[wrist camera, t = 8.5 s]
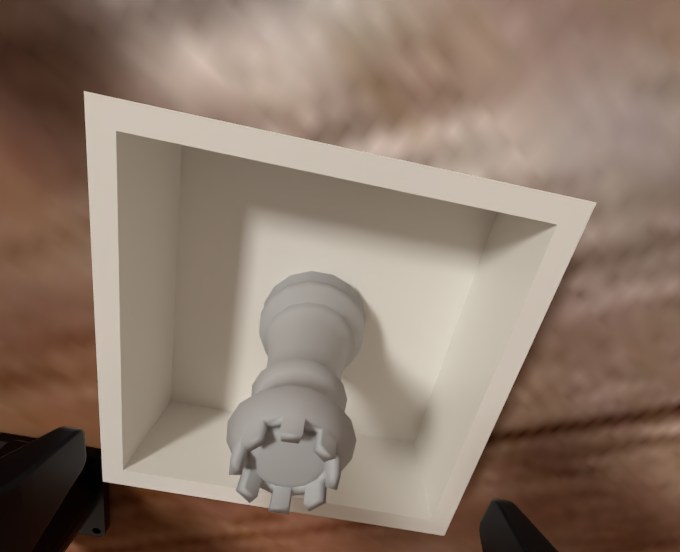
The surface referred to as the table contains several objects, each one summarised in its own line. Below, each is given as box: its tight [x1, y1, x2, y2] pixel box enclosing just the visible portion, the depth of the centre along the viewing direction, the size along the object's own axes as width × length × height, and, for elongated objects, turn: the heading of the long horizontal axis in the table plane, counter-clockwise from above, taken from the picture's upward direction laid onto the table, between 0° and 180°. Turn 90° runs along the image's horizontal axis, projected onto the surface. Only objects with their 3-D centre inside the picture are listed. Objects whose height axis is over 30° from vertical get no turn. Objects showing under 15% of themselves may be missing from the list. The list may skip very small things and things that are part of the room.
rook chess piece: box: [226, 271, 366, 514], centre depth 11 cm, size 4×4×8 cm
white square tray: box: [84, 91, 596, 536], centre depth 14 cm, size 14×14×4 cm
